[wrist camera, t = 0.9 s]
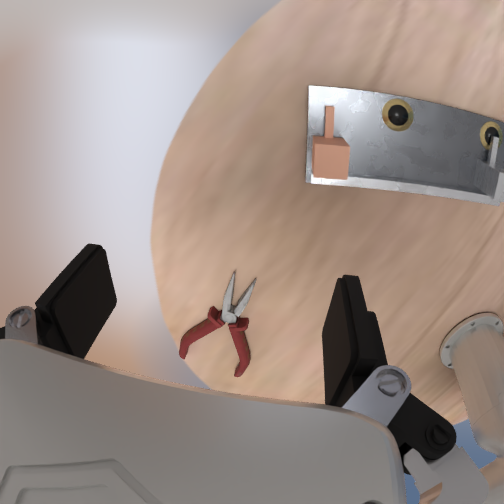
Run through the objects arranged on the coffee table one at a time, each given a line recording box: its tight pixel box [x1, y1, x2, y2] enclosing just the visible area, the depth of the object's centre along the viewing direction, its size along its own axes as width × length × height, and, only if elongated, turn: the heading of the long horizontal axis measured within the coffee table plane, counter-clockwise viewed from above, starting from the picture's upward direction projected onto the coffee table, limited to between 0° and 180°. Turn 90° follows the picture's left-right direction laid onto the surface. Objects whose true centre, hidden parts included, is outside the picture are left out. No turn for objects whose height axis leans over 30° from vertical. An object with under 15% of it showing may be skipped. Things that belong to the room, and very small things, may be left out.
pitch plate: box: [305, 86, 504, 206], centre depth 26 cm, size 24×10×6 cm, turn 91°
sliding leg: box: [312, 106, 350, 180], centre depth 26 cm, size 3×6×4 cm, turn 1°
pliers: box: [179, 272, 256, 377], centre depth 45 cm, size 11×20×3 cm, turn 162°
